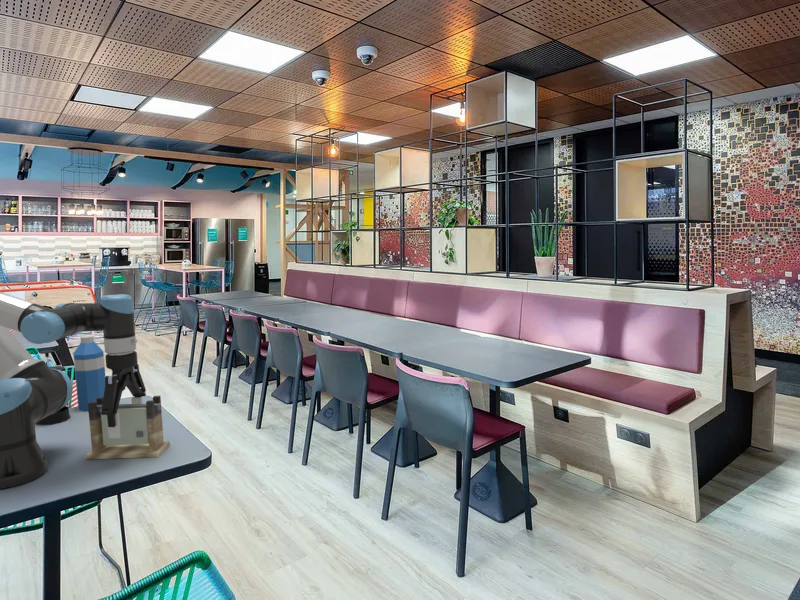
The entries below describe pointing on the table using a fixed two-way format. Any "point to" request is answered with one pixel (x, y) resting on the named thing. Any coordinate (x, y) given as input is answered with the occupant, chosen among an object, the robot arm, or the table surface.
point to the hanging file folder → (129, 424)
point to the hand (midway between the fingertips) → (127, 428)
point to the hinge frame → (127, 451)
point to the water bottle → (89, 372)
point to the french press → (63, 412)
